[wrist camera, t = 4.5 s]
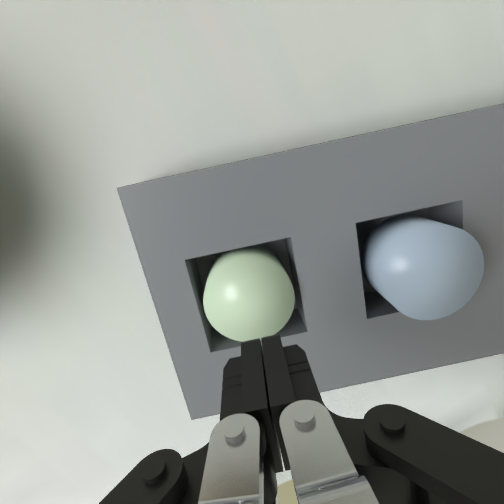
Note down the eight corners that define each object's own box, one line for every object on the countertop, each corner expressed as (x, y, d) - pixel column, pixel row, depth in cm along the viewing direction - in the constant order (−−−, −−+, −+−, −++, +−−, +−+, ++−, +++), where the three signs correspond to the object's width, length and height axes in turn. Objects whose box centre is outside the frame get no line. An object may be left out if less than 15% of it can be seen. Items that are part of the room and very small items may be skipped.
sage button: (277, 234, 19) (286, 248, 16) (291, 306, 21) (301, 331, 17) (199, 251, 19) (192, 268, 16) (218, 321, 21) (215, 350, 17)
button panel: (599, 82, 19) (691, 62, 15) (580, 295, 23) (650, 321, 19) (140, 182, 19) (116, 187, 15) (198, 376, 23) (191, 419, 19)
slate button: (440, 206, 18) (484, 215, 15) (443, 285, 19) (484, 309, 16) (355, 224, 18) (381, 237, 15) (364, 302, 19) (389, 329, 16)
